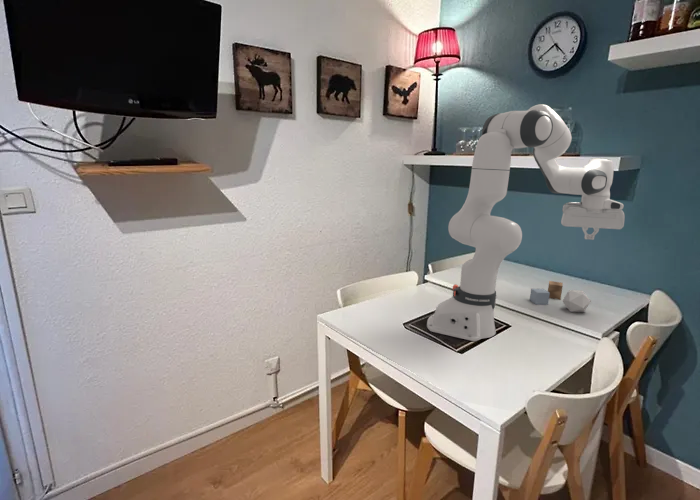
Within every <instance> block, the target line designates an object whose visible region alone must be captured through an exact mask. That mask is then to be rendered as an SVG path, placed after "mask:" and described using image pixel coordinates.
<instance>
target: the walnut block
mask: <svg viewBox="0 0 700 500" xmlns="http://www.w3.org/2000/svg"><path fill="white" fill-rule="evenodd" d="M563 285H564V284H563V282H560V281H553V280H549V281H548V287H547V291H548V292H549V293H550V295H549V299H553V300H559V301H562V300H561V298H562V294H563V293H562V292H563Z"/></svg>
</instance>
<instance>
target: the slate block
mask: <svg viewBox="0 0 700 500" xmlns="http://www.w3.org/2000/svg"><path fill="white" fill-rule="evenodd" d="M549 295H550V293H549V292H548V290H546V289H545V288H530V295H529V301H531V302H532V303H533V304H534V305H549V301H550V298H549Z"/></svg>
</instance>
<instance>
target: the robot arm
mask: <svg viewBox="0 0 700 500" xmlns="http://www.w3.org/2000/svg"><path fill="white" fill-rule="evenodd" d="M481 129H482V130H481V136H480V137H479V138H478V141H477V144H476V147H475V149H474V154H473V160H472V164H471V165H472V166H471V171H470V172H471V173H470V179H469V180H470V181H469V186H468V187H469V188H468V192H467V196H466V199H465V202H464V203H463V205H462V207H461V208H460V209H459V210H458V211H457V212H455V214H454V215H453V216H452V217H451V218H450V220H449V222H448V227H447V228H448V229H447V230H448V235H449V236H450V237H451V238H452V239H454V240H455V241H457V242H459V243H460V244H462V245H464V246H469V247H473V248H475V250H474V254H473V257H472V258H470V259H468V260H467V261H465V262H464V263H463V264H462V266H461V272H460V273H461V274H460V285H459V284H453V286H452V290H453V291H452V296H451V297H450V298H448V299H446V300H444V301H442V302H440V303H439V304H438V305H437V307H436V308H435V312H434V313H433V314H431V315H430V316H429V317H428V318H427V321H426V328H427V329H428V330H429V332H431V333H432V332H433V333H436V334H441V335H446V336H450V337H453V338H458V339H464V340H467V341H471V342H477V341H479V340H481V339H487V338H491V337H494V336H495V335H496V334H497V332H496V331H497V330H496V325H495V316H494V315H495V312H494V310H495V307H496V303H497V302H496V301H497V291H496V287H497V280H498V272H499V268H500V266H501V265H502V263H503V261H504V260H505V259H506V257H507V256H509V255H510V254H512V253H513V252H515V251H516V250H517V249H518V248H519V246H521V243H522V240H523V231H522V228H521V226H520V225H519V224H518V223H516V222H515V221H513V220H511V219H508V218H506V217H501V216H497V215H492V214H491V213H492V210H493V208H494V206H495V205H496V204H497V203H499V202H500V201H502V200H503V199H504V198H505V197H506V196H507V194H508V186H509V180H510V178H509V177H510V170H511V157H512V151H513V150H514V149H525V148H532V155H533V156H532V157H533V158H534V161H535V162H536V165H537V167H538V168H539V170H540V172H541V173H542V175H543V177H544V181H545V184H546V187H547V188H548V190H549V191H550V192H551V193H552V194H561V195H562V194H567V195H576V196H577V195H578V196H579V195H580V196H581V200H580V201H579V202H578V201H575V202H573V201H568V202H566V203H564V204H563V205H562V209H561V210H562V216H561V221H560V223H561V225H562V226H563V227H569V228H570V227H571V228H572V227H573V228H581V230H582V232H583V234H584V240H592V241H594V240H595V236H596V235H597V234H598V233H599V232H600V229H610V230H622V229H623V228H624V227H625V218H626V217H625V212H624V211H623V209H624V206H625V205H624V204H623V203H622V202H619V201H616V200H615V199H611V191H610V189H611V187H612V184H613V182H614V181H613V180H614V168H615V167H614V162H613V160H611V159H610V158H604V157H603V158H602V157H593V158H590V159H589V160H588V163H587V164H585V165H583V166H582V167H572V166H571V167H570V166H569V167H568V166H563V165H560V164H559V163H558V161H557V160H556V159H557V158H559V157H561V156H562V155H563V154H564V153H565V152H567V150H568V149H569V147H570V146H571V142H572V138H573V137H572V132H571V131H570V129H569V127H568V125H567V124H566V123H565V121H564V120H563V119H562V117H561V116H560V114H558V113H557V112H556V111H555V110H554V109H553V108H551V107H550V106H549V105H547V104H543V103H542V104H541V103H540V104H536V105H533V106H531V107H529V109H527V110H510V111H506V112H500V113H498V112H497V113H495V114H492V115H491V116H490V115H489V117H487V119H486V120H485V122H484V124H483V125H482V128H481ZM589 228H590V229H593V232H591V234H589V233H588V232H587V231H588V230H589Z"/></svg>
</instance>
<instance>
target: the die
mask: <svg viewBox="0 0 700 500" xmlns="http://www.w3.org/2000/svg"><path fill="white" fill-rule="evenodd" d="M561 301H562V303H563V304H564V306H565V307H566V309H568V311H569V312H570V313H584V312H585V311H586V309H587V308H588V306H589V305H590V304H591V303H592V300H590V298H589V297H588V296H587V294H586V292H585V291H584V290H577V289H574V290H573V289H572V290H571V289H570V290H568V291H567V292H566V294H565V295H564V297H563V299H562V300H561Z"/></svg>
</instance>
